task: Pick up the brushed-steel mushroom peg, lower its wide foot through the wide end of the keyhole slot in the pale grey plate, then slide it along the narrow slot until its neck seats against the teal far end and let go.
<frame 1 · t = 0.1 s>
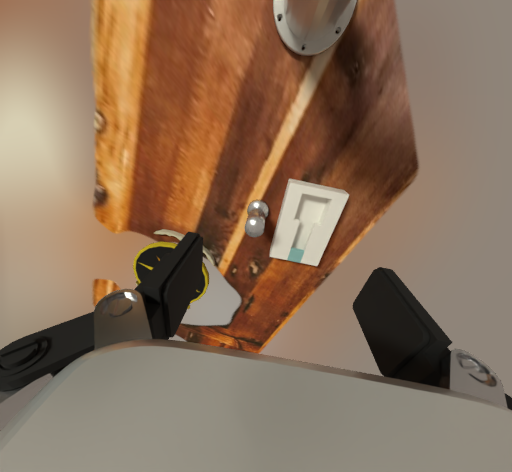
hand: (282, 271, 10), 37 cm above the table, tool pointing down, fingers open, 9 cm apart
steel peg: (258, 209, 48), on the table
keyhole plate: (303, 222, 49), on the table
wall ornament: (176, 269, 61), on the table
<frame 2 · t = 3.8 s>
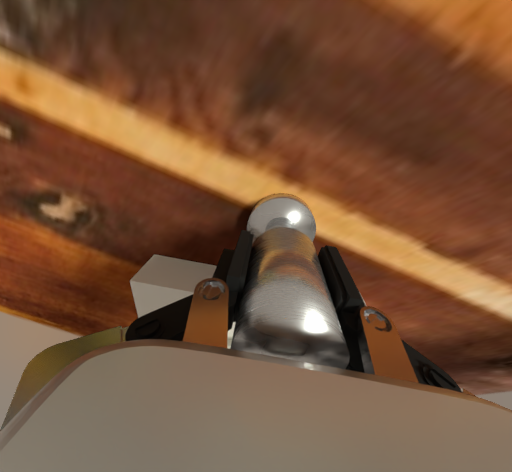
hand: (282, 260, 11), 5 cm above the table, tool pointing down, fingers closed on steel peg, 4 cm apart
steel peg: (280, 224, 16), on the table, touching gripper
keyhole plate: (247, 316, 22), on the table
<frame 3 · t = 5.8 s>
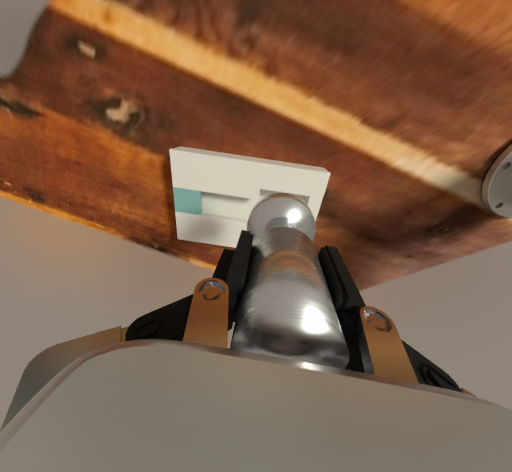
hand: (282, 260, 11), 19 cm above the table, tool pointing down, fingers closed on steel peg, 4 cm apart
steel peg: (280, 224, 16), point 14 cm above the table, touching gripper
keyhole plate: (247, 201, 30), on the table
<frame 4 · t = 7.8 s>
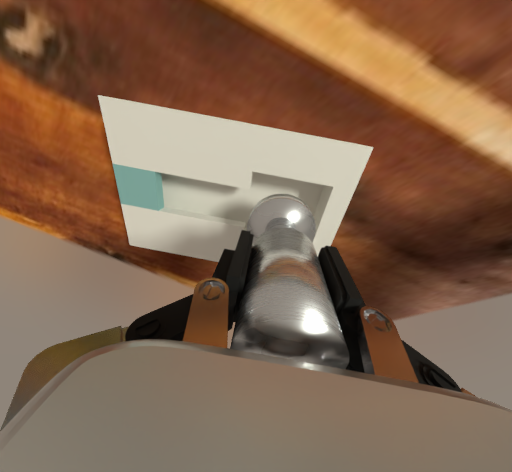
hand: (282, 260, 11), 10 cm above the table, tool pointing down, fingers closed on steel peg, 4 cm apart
steel peg: (280, 224, 16), point 5 cm above the table, touching gripper
keyhole plate: (235, 193, 20), on the table
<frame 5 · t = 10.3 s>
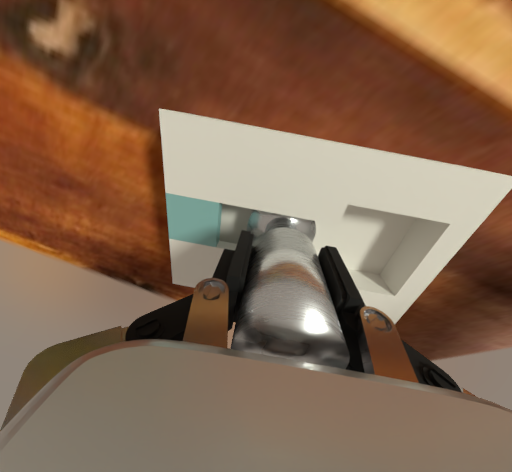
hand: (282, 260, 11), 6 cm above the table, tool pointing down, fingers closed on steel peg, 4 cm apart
steel peg: (280, 224, 16), point 1 cm above the table, touching gripper
keyhole plate: (299, 221, 17), on the table
when the fingers open (6 cm above the table, at t = 12.1 s): steel peg stays where it is, resting on keyhole plate.
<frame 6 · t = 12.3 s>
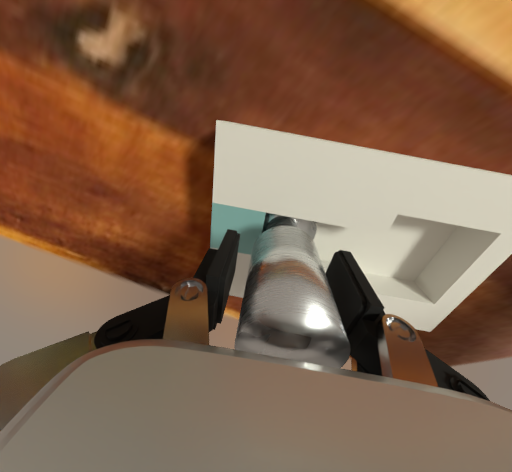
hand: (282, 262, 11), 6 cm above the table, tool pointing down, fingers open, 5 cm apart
steel peg: (281, 223, 16), point 1 cm above the table, touching keyhole plate
keyhole plate: (335, 228, 17), on the table
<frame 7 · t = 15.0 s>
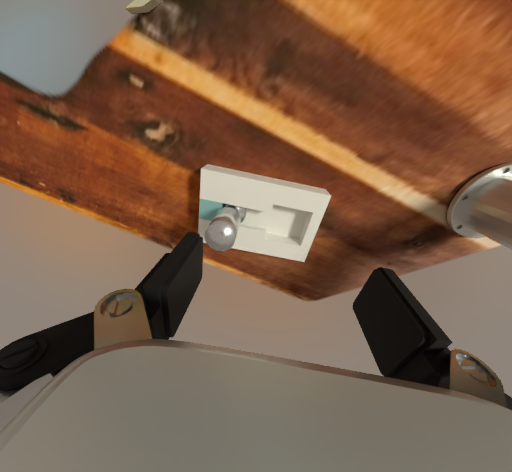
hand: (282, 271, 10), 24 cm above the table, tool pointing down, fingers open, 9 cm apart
steel peg: (232, 209, 34), point 1 cm above the table, touching keyhole plate
keyhole plate: (259, 212, 35), on the table
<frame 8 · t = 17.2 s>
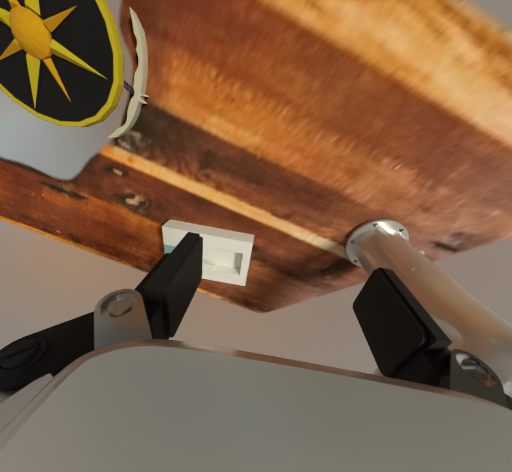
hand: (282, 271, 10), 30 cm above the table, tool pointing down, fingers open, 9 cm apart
keyhole plate: (211, 249, 48), on the table
wall ornament: (60, 44, 30), on the table
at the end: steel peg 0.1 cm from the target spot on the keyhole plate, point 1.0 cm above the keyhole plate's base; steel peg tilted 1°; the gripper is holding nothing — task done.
